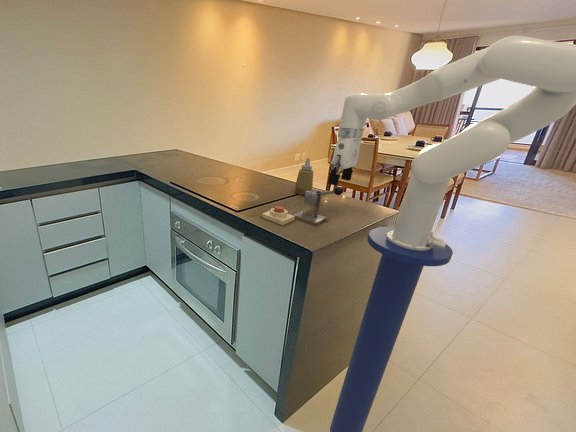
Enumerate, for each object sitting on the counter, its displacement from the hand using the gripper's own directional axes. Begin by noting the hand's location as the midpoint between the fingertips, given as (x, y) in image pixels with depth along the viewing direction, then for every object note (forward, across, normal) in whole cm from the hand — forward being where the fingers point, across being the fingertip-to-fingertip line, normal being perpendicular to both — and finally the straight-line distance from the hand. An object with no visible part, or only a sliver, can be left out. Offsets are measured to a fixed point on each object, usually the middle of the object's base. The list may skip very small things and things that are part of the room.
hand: (339, 182), depth 106 cm
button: (+15, -10, +17) cm, 24 cm away
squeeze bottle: (+18, +26, +28) cm, 42 cm away
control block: (+18, -10, +16) cm, 26 cm away
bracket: (+18, 0, +8) cm, 20 cm away
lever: (+7, 0, +3) cm, 8 cm away
